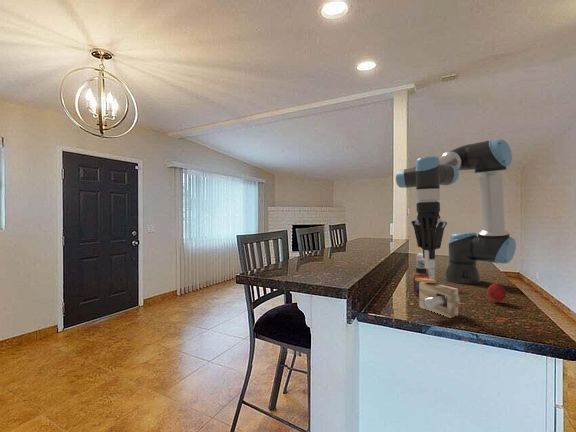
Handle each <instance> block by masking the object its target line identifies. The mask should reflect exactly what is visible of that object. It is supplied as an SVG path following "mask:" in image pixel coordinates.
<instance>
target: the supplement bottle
mask: <svg viewBox="0 0 576 432" xmlns="http://www.w3.org/2000/svg"><path fill="white" fill-rule="evenodd" d="M412 276H413V278H412V280H413V281H412V282H413V283H412V284H413V285H412V287H413V288H412V289H413V291H412V292H413V295H415V296H418V297H419V283H421V282H420V281H416V280H415V278H424V279H429V274H428V273H427V272H426V268H425V267H417V266H415V271H414V272H413V273H412Z"/></svg>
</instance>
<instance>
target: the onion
mask: <svg viewBox="0 0 576 432" xmlns="http://www.w3.org/2000/svg"><path fill="white" fill-rule="evenodd" d="M486 291H487V292H486V294H487V295H486V296H488V298H489V299H490V300H491V301H493V303H496V304H499V303H500V302H502V301H503V300H505V299H506V296H507V292H506V291H507V290H506V289H505V288H504V286H502V285H501V284H500V283H499V282H498V281H494V282H493V283H492V284H491V285H489V287H488V288H487V290H486Z"/></svg>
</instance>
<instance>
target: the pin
mask: <svg viewBox="0 0 576 432" xmlns="http://www.w3.org/2000/svg"><path fill="white" fill-rule="evenodd" d="M460 303H461V297H460V295H459V294H458V305H459V304H460ZM422 304H423V306H424V307H425V308H427V309H428V308H432V307H436V306H441V305H445V304H447V296H446V295H441V296H437V297H432V298H427V299H424V300H423V301H422Z"/></svg>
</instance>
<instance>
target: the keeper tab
mask: <svg viewBox="0 0 576 432" xmlns="http://www.w3.org/2000/svg"><path fill="white" fill-rule="evenodd" d="M415 280H416V281H420V282H425V283H436V284H440V283H439V280H437V279H435V280H434V279H424V278H415Z"/></svg>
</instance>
